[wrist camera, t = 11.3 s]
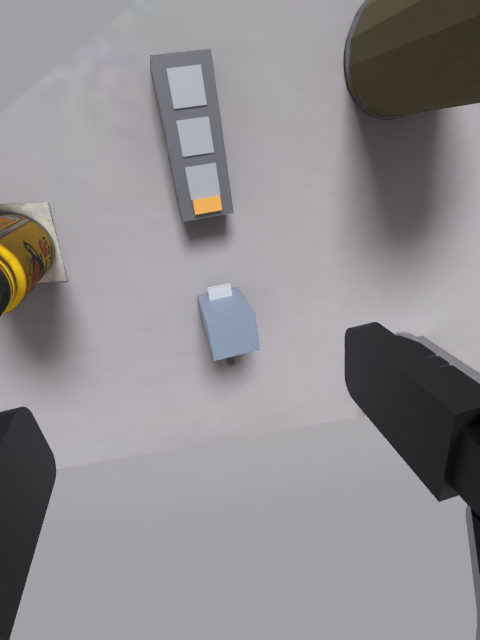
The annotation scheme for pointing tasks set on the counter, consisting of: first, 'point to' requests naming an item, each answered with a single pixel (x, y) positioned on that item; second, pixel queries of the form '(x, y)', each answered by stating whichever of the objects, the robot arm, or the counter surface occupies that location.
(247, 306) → the block
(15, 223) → the condiment
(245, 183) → the counter surface
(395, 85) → the canister
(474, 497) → the robot arm
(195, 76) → the strip
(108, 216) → the counter surface
